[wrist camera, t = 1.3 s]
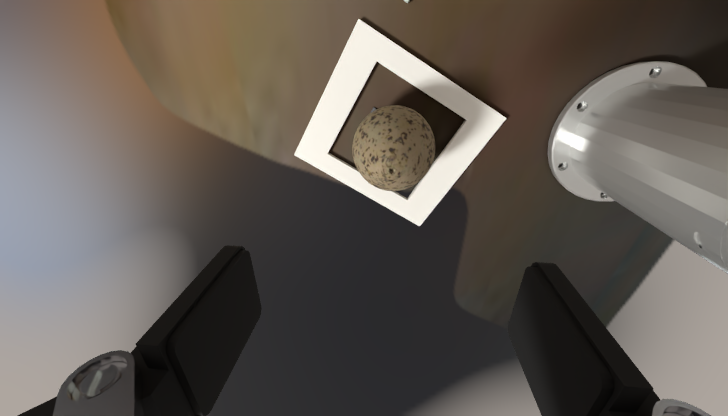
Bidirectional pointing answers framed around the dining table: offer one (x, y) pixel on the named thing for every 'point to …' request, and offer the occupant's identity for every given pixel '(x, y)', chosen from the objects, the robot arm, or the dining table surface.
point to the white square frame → (344, 92)
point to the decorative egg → (393, 148)
